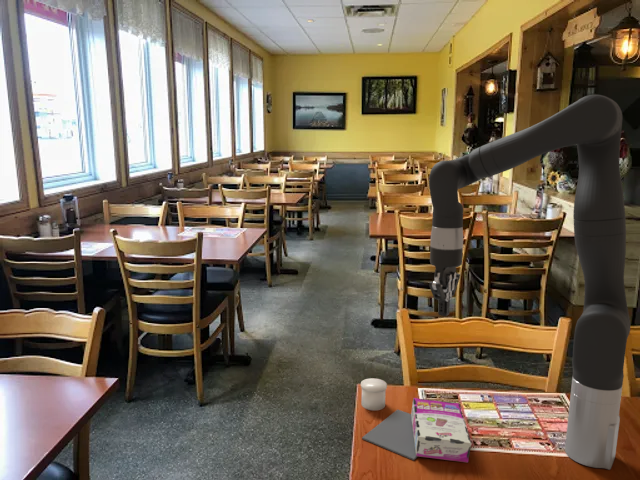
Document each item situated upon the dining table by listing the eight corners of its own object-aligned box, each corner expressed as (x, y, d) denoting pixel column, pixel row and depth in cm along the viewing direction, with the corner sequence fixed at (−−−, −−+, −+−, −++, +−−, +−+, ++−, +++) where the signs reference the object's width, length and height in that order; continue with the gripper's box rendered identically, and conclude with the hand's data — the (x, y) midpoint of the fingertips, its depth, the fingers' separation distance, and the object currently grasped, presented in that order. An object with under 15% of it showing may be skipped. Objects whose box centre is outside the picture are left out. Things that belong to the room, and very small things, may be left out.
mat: (446, 428, 122) (446, 426, 122) (413, 460, 109) (414, 458, 109) (397, 410, 129) (397, 409, 129) (362, 439, 117) (362, 437, 117)
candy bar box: (410, 416, 125) (414, 457, 110) (412, 397, 124) (417, 435, 108) (457, 421, 124) (468, 464, 108) (460, 402, 123) (471, 442, 107)
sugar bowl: (391, 403, 133) (391, 383, 132) (377, 413, 128) (378, 392, 127) (369, 395, 137) (369, 376, 136) (355, 405, 132) (355, 385, 131)
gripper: (449, 251, 116) (446, 325, 119) (472, 242, 127) (469, 311, 130) (419, 247, 121) (417, 319, 124) (443, 239, 131) (441, 305, 134)
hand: (443, 314), depth 127 cm, fingers closed
